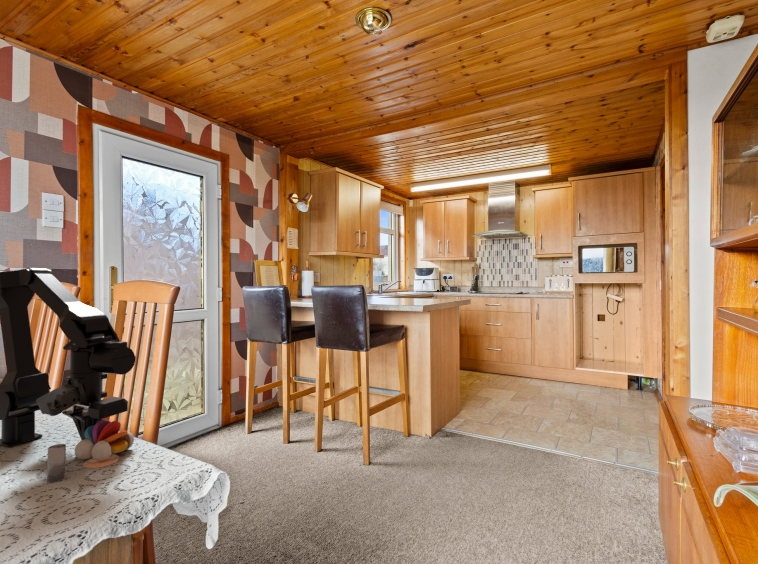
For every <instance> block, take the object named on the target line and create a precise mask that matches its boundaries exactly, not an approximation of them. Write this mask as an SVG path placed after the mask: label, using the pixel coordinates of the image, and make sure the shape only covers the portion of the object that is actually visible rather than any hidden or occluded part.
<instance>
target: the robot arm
mask: <svg viewBox="0 0 758 564" xmlns="http://www.w3.org/2000/svg"><path fill="white" fill-rule="evenodd" d="M35 295H36V296H37V297H38V298H39V300H41V301H42V302H43V303H44V304H45V305H46V306H47V307H48V308H49V309H50V310H51V311H52V312H54V314H55V315H56V316H57V317H58V318H59V325H58V327H59V329H60V330H61V331H62V332H63V334H64V335H65V336H66V338H67V339H68V340H69V342H67V343H66V344H65V345H64V346H63V347H62V349H63V350H65V351H70V357H69V358H70V359H69V362H70V364H69V371H70V373H69V376H66V377H64V379H63V385H61V386H59V387H57V388H55V389H52V387H51V386H50V382H49V381H50V380H49V379H50V378H49V374H48V373H47V372H46V371H45V372H42V371H40V369H38V368H37V366H36V361H35V360H36V358H35V353H34V346H33V345H34V344H33V338H32V330H31V322H30V314H29V304H30V303H31V302H32V300H33V298H34V297H35ZM0 330H1V336H2V337H1V338H2V345H3V351H4V359H5V366H6V367H5V368H6V373H5V375H4V376H3V378H2V380H1V381H0V421H1V438H0V446H4V447H7V448H10V447H11V448H12V447H14V446H18V445H20V444H21V445H22V444H25V443H27V442H31V441H34V440H36V439H41V438H42V437H43V434H41V433H37V432H36V418H35V417H36V412H38V411H40V412H41V414H42V415H48V416H49V417H55V416H58V415H60V414H62V415H64V416H67V417H69V418H70V419H72V421H73V423H74V425H75V427H76V429H77V432H78V435H79V437H80V441H82V440H84V439H85V436H84V434H85V431H86V429H87V428H88V427H90V426H93V425H95V424H96V423H97V422H98V421H100V420H103V419H107V418H110V417H113V416H116V415H120V414H123V413H125V412H128V411H129V401H128V400H127V399H126V398H124V397H120V396H118V397H117V396H110V397H108V391H103V385H104V384H103V383H104V380H105V379H108V374H111V375H112V374H113V375H126V374H128V373H129V372H130V371H131V370H132V369H133V367H134V366H135V363H136V360H137V359H136V358H137V357H136V355H135V353H134V351H133V349H131V348H130V347H128V341H125V340H123V341H120V339H119V337H118V334H117V333H116V330H114V328H113V326H112V324H111V322H110V320H109V318H108V316H107V315H106V314H105V313H103V312H102V311H101V310H99V309H98V308H96V307H92V306H91V305H88V304H85V303H83V302H81V301H80V299H78V298H77V297H76V296H75V295H74V294H73V293H72V292H71V291H70V290H69V289H68V288H67V287H65V286H64V284H63V283H62V282H60V281H59V280H58V278H56V277H55V275H54V273H53V271H52V270H50V269H48V268H43V267H42V268H41V267H26V268H21V269H16V270H6V269H5V270H3V269H0ZM51 389H52V390H51ZM103 398H104V399H103Z"/></svg>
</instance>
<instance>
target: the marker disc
mask: <svg viewBox="0 0 758 564" xmlns="http://www.w3.org/2000/svg"><path fill="white" fill-rule="evenodd" d="M119 459H120V456H119V455H117V454H111V455H110V457H109V458H108V459H107V460H105V461H97V460H95V459H94V458H93V457H91V458H89V459H87V460H86V461H85V462H84V463H83V464H82V465H83V466H82V467H84V468H86V469H97V468H104V467H107V466H109V465H112V464H115V463H116V462H117V460H119Z"/></svg>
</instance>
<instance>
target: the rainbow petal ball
mask: <svg viewBox="0 0 758 564" xmlns="http://www.w3.org/2000/svg"><path fill="white" fill-rule="evenodd" d="M121 426H122V424H121V422H119V420H114V421H111V420H109V419H107V418H103V419H102V420H100V421H98V422H97V423H96V424H95V425H93V426H90V427H88V428H87V429H86V431H85V434H84V436H85V439H84V440H80V441H79V442H77V444H76V445H75V447H74V456H75V457H77V459H79V460H89V459H92V458H94V459H95V460H97V461H105V460H107V459H108V458H109V457H110V455H112V454H118V453H119V454H120V453H122V452H124V451H127V450H128V449H130V448H131V447H132V446H133V444H134V442H135V437H134V435H133V433H132V432H129V431H128V430H121ZM120 430H121V431H120Z"/></svg>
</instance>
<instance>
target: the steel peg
mask: <svg viewBox="0 0 758 564" xmlns="http://www.w3.org/2000/svg"><path fill="white" fill-rule="evenodd" d="M66 448H67V446H66V443H65V444H64V443H60V444H58V443H57V444H54V445H51V446H49V447H48V448H47V465H46V466H47V471H46V472H47V473H46V475H47V476H46V479H47V480H46V481H47V483H56V482H57V483H58V482H60V481H62V480H64V479H65V478H66V454H67V450H66Z"/></svg>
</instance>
